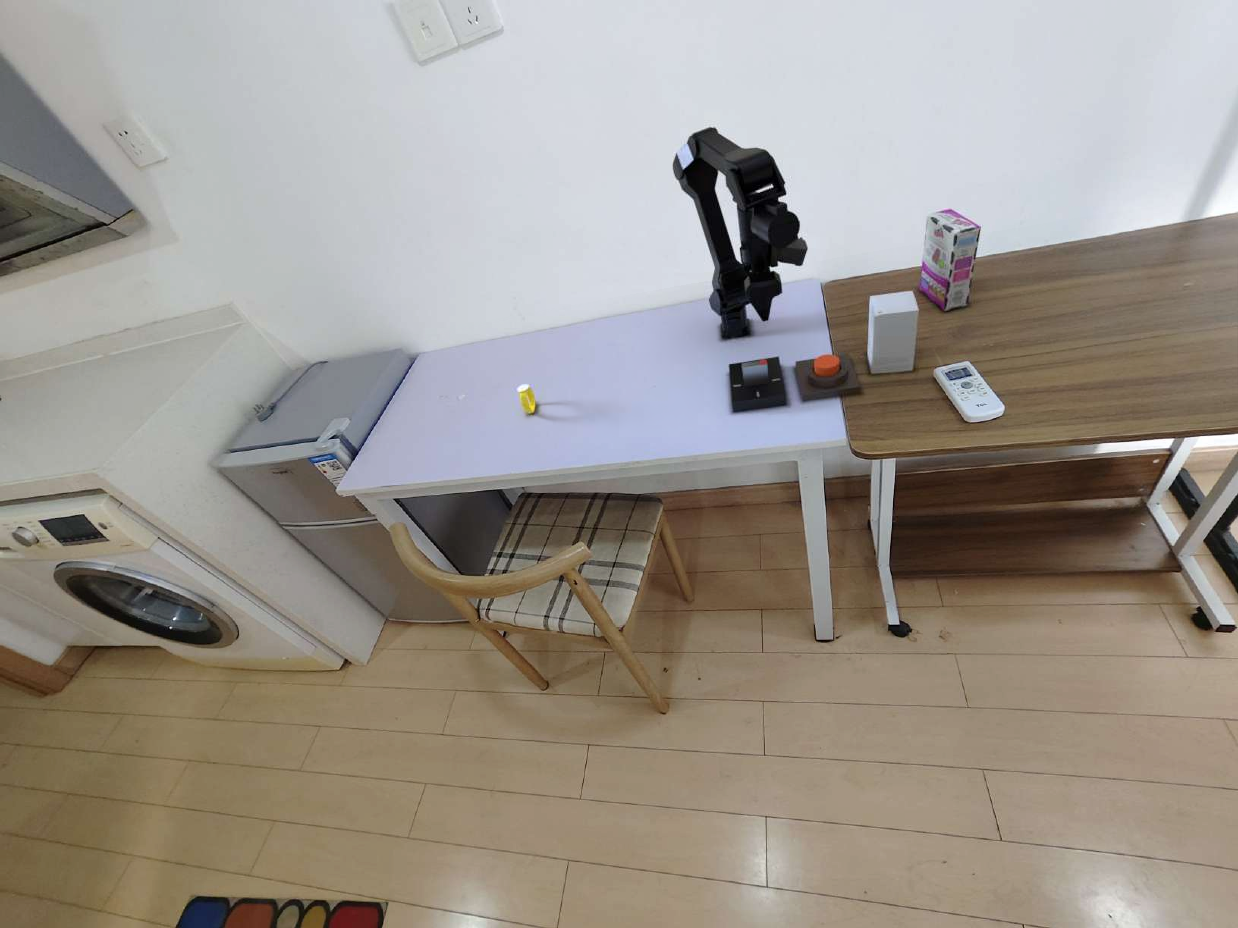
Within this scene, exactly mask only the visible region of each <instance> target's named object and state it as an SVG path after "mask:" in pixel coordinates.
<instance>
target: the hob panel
mask: <svg viewBox="0 0 1238 928" xmlns="http://www.w3.org/2000/svg"><path fill="white" fill-rule="evenodd" d="M763 359H765V360H767V367H768V377H769V384H763V385H756V386H749V387H745V385H744V378H743V370H742V363H748V362H754V361H760V360H763ZM728 373H729V386H730V398H731V399H730V401H731V407H732V412H733V413H739V412H748V411H755V410H764V409H771V408H779V407H785V406H787V405H788V402H787V401H788V400H787V392H786V388H785V387H786V386H785V383H784V381H785V380H784V377H783V371H782V366H781V360H780V356H773V357H766V358H760V359H754V360H753V359H752V360H748V361H747V360H746V361H741V362H734V363H729V364H728Z"/></svg>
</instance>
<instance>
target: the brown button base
mask: <svg viewBox="0 0 1238 928" xmlns="http://www.w3.org/2000/svg"><path fill="white" fill-rule="evenodd" d="M849 354H850V353H843V354H841V353H840V354H834V355H835V356H837V357H838V358H839V372H838V373H837V374H835V375H833V376H827V377H824V376H818V375H817V374H816V373H815V369H814V361H815V359H816V358H817V357H815V358H810V359H809V358H808V359H803V360H797V361H795V372H796V376H797V381H798V385H799V389H800V393H801V398H802V401H803V402H807V401H808V402H810V401H816V400H824V399H830V398H839V397H846V396H853V395H859V394H861V386H860V383H859V380H858V377H857V375H856V371H855V368H854V365H853V363H852V359H851V357H850V355H849Z"/></svg>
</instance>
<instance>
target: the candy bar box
mask: <svg viewBox="0 0 1238 928" xmlns="http://www.w3.org/2000/svg"><path fill="white" fill-rule="evenodd" d="M981 229H982V226H981V225H979V224H977V223H976V222H973V221H972V220H970V219H969V218H967V217H965V216H963V214H960V213H959V212H957V211H955V210H953V209H952V208H948V209H944V210H940V211H937V212H933V213H930V214H927V215H926V226H925V234H924V242H923V251H922V263H921V269H920V280H919V291H921V293H923V294H924V295H925V296H926V297H927V298H929V299H930V300H931V301H932V302H933V303H934V304H935V305H937V307H939V308H940V309H942V310H943V312H948V311H952V310H956V309H960V308H964V307H968V306H969V305H968V304H969V301H970V299H969V298H970V293H971V289H972V288H971V287H972V281H973V276H974V270H975V264H976V258H977V252H978V246H979V243H980V235H981Z"/></svg>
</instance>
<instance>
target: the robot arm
mask: <svg viewBox="0 0 1238 928" xmlns="http://www.w3.org/2000/svg"><path fill="white" fill-rule="evenodd" d="M672 171H673V172H672V173H673V175H674V177H675V179H676V180H677V181H678V183H679V186H680V188H681V190H682V191H683V192H684V193H685V194H686V195H688V196H689V197H690V198H691V199H692V200H693V203H694V206H695V209H696V213H697V216H698V218H699V221H700V226H701V228H702V232H703V234H704V238H705V240H706V241H705V242H706V244H707V247H708V250H709V253H710V257H711V259H712V263H713V267H714V269H713V274H712V279H711V286H712V290H713V291H712V292H711V295H709V297H708V302H709V306H710V309H711V310H712V311H713V312H714V313H715V314H717V316H718V317H720V321H721V323H720V335H721V336H720V337H721V339H722V340H725V339H731V338H737V337H743V336H750V335H751V333H752V331H751V324H750V319H749V318H748V314H747V306H748V305H751V306H752V307H753V309H754V310H755V312H756V314H757V316H758V317H759V318H760V320H761V321H762V322H768V321H769V319H770V314H771V310H772V309H771V308H772V303H773V300H774V298H776V297H779V296H781V294H783V287H782V286H783V283H782V279H781V275H780V273H778V272H776V271H775V270H771V268H776V267H779V263H781V264H789V265H793V266H795V267H802V266H803V264H804V261H805V259H806V256H807V253H808V249H809V248H808V244H807V242H806V240H805V239H803V237H801V236H800V237H799V233H800V230H801V221H800V219H799V217H798V216H797V214H796V213H794V212H793V211H790V210H789V208H788V203H786V202H785V201H780V200H779V198H782V197H785V196H786V195H787V190H786V187H785V185H786V182H785V181H786V180H785V179H784V177H783V175H782V173H781V171H780V169H779V167H778V165H777V163H776V160H775V158H774V157H773V155H771V153H770V152H769V151H768V150H766V149H764V148H760V147H747V148H745V147H741V146H740V145H738V144H737V143H735V142H733V141H731V140H730V139H729V138H727V137H725V136H724V135H723V134H721V133H719V131H718V129H717V128H716V127H715V126H714V127H712V126H708V127H705V128H703V129H701V130H698V131H695V132H692V133H691V135H689V136H688V139H687V141H686V143H684V145H683V146H681V148H680V149H679V150H678V151H676V153H675V156H674V159H673V162H672ZM719 172H720V173H721V174H722V175H724V177H725V187H726V188H727V189H728V191H729V193H730V194H731V196H732V198H731V199H732V201H733V202H734V203H736V213H737V221H738V222H737V223H738V230H739V241H740V247H739V255H740V261H739V260H738V259H737V257H736V254H735V251H734V247H733V244H732V241H731V237H730V234H729V231H728V228H727V224H726V221H725V217H724V214H723V210H722V207H721V204H720V201H719V197H718V194H717V192H716V185H717V181H718V176H719ZM770 186H772V187H770ZM765 188H767V189H765ZM762 189H765V190H762ZM760 190H761V191H760ZM758 191H759V192H758Z"/></svg>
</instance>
